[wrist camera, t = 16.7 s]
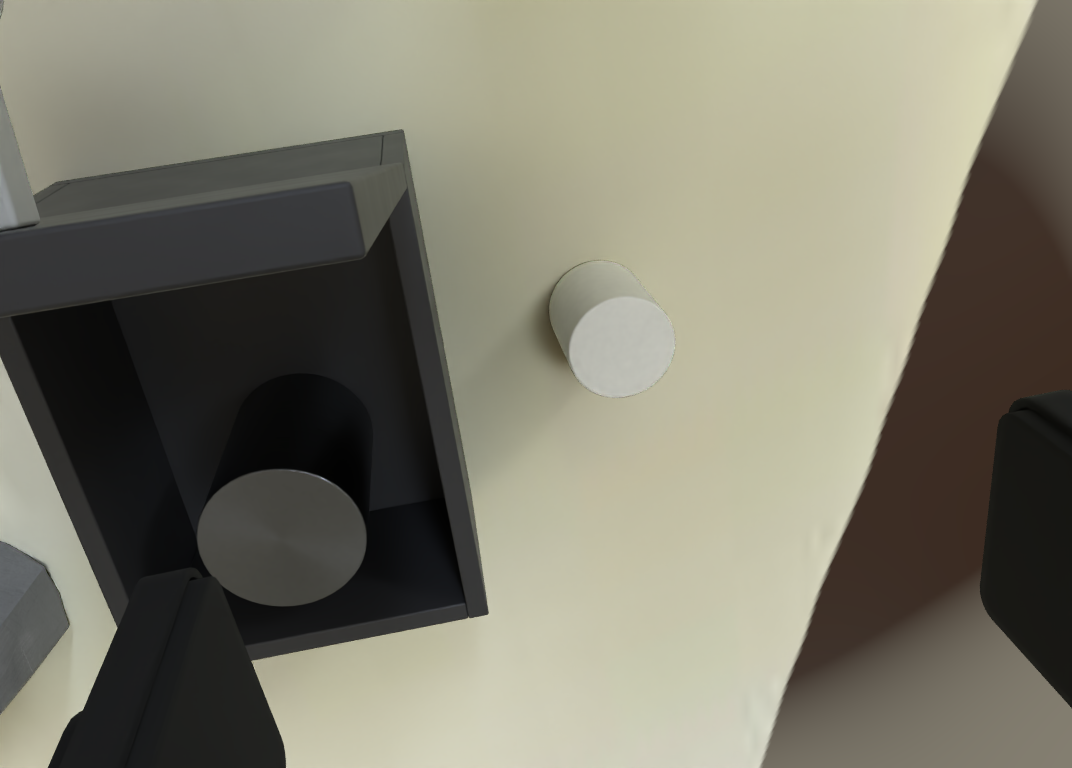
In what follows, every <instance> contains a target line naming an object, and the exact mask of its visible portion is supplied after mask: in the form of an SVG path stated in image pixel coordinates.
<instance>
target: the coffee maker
mask: <svg viewBox="0 0 1072 768" xmlns="http://www.w3.org/2000/svg"><path fill="white" fill-rule="evenodd" d="M399 162H401V163H403V167H404V172H405V178H406V183H407V189H406V190H405V192H404V193H403V195H402V197H401V198H400V200H399V202H398V203H397V205H396V207H395V208H394V210H393V212H392V213H391V215H390V217H389V218H388V220H387V221H386V223H385V225H384V226H383V228H382V230H381V231H380V233H379V235H378V236H377V238H376V240H375V241H374V243H373V245H372V246H371V248H370V249H369V251H368V253H367V254H366V256H365V257H364V258H362V259H360V260H354V261H348V262H342V263H336V264H330V265H323V266H317V267H311V268H305V269H299V270H293V271H287V272H280V273H274V274H268V275H262V276H256V277H250V278H243V279H237V280H231V281H225V282H219V283H213V284H207V285H200V286H194V287H188V288H182V289H176V290H170V291H164V292H157V293H151V294H145V295H139V296H133V297H127V298H121V299H114V300H108V301H102V302H96V303H90V304H84V305H78V306H71V307H65V308H59V309H53V310H47V311H41V312H35V313H28V314H22V315H16V316H10V317H4V318H0V357H1V359H2V361H3V364H4V366H5V368H6V371H7V373H8V375H9V377H10V380H11V382H12V384H13V387H14V389H15V391H16V394H17V396H18V398H19V401H20V403H21V405H22V408H23V410H24V412H25V415H26V417H27V419H28V422H29V424H30V426H31V428H32V431H33V433H34V435H35V438H36V440H37V442H38V445H39V447H40V449H41V452H42V454H43V456H44V459H45V461H46V463H47V466H48V468H49V470H50V472H51V475H52V477H53V479H54V482H55V484H56V486H57V489H58V491H59V493H60V496H61V498H62V500H63V503H64V505H65V507H66V510H67V512H68V514H69V516H70V519H71V521H72V523H73V526H74V528H75V530H76V533H77V535H78V537H79V540H80V542H81V544H82V547H83V549H84V551H85V554H86V556H87V558H88V560H89V563H90V565H91V567H92V570H93V572H94V574H95V577H96V579H97V581H98V584H99V586H100V588H101V591H102V593H103V595H104V598H105V600H106V602H107V604H108V607H109V609H110V611H111V614H112V616H113V618H114V621H115V623H116V625H117V628H118V626H119V624H120V622H121V619H122V617H123V614H124V612H125V610H126V607H127V605H128V603H129V600H130V598H131V596H132V593H133V591H134V588H135V586H136V584H137V583H138V581H139V580H140V579H141V578H143V577H147V576H151V575H156V574H161V573H166V572H171V571H176V570H181V569H186V568H191V567H192V568H196V569H197V570H198V571H199V572H200V573H201V575H202V577H203V578H206V577H211V576H212V575H211V574H210V573H209V571H208V570H207V568H206V567H205V565H204V563H203V561H202V559H201V557H200V554H199V550H198V547H197V539H196V534H197V525H198V520H199V517H200V514H201V512H202V509H203V506H204V503H205V501H206V498H207V495H208V493H209V490H210V487H211V485H212V482H213V479H214V476H215V474H216V471H217V468H218V466H219V463H220V460H221V458H222V455H223V452H224V449H225V447H226V444H227V441H228V439H229V436H230V433H231V430H232V428H233V425H234V422H235V420H236V417H237V414H238V412H239V409H240V407H241V406H242V404H243V402H244V401H245V399H246V398H247V397H248V396H249V394H251V393H252V392H253V391H254V390H255V389H256V388H257V387H259V386H260V385H262V384H263V383H265V382H267V381H269V380H271V379H274V378H277V377H279V376H284V375H288V374H296V373H307V374H316V375H320V376H324V377H327V378H330V379H333V380H335V381H337V382H339V383H341V384H342V385H344V386H345V387H347V388H348V389H350V390H351V391H352V392H353V393H354V394H355V395H356V396H357V397H358V398H359V399H360V400H361V401H362V403H363V404H364V406H365V407H366V409H367V411H368V414H369V416H370V419H371V422H372V428H373V447H372V466H371V484H370V503H369V521H368V540H367V548H366V553H365V556H364V559H363V561H362V563H361V565H360V567H359V569H358V570H357V572H356V573H355V575H354V576H353V577H352V578H351V579H350V580H349V581H348V582H347V583H346V584H345V585H344V586H343V587H341V588H340V589H339V590H337V591H336V592H334V593H333V594H331V595H329V596H327V597H325V598H323V599H320V600H318V601H315V602H312V603H308V604H303V605H297V606H269V605H264V604H259V603H255V602H252V601H249V600H246V599H244V598H241V597H239V596H237V595H235V594H234V593H232V592H230V591H229V590H227V589H226V588H224V587H223V586H222V585H221V584H220V585H221V587H222V589H223V592H224V594H225V597H226V599H227V602H228V604H229V607H230V609H231V612H232V615H233V617H234V620H235V622H236V625H237V627H238V630H239V632H240V635H241V637H242V640H243V642H244V645H245V647H246V650H247V652H248V655H249V657H250V660H251V661H252V660H258V659H263V658H268V657H273V656H278V655H283V654H288V653H293V652H298V651H303V650H309V649H314V648H319V647H324V646H329V645H334V644H339V643H344V642H349V641H354V640H360V639H365V638H370V637H375V636H380V635H385V634H390V633H395V632H400V631H405V630H411V629H416V628H421V627H426V626H431V625H436V624H441V623H446V622H451V621H456V620H462V619H467V618H468V616H469V618H473V617H479V616H484V615H488V613H489V612H488V605H487V599H486V592H485V585H484V578H483V571H482V564H481V557H480V550H479V543H478V536H477V529H476V522H475V515H474V508H473V501H472V495H471V490H470V484H469V479H468V473H467V468H466V463H465V457H464V452H463V447H462V441H461V436H460V431H459V425H458V420H457V414H456V409H455V404H454V398H453V393H452V388H451V382H450V377H449V371H448V366H447V361H446V355H445V350H444V345H443V339H442V334H441V329H440V323H439V318H438V312H437V307H436V302H435V296H434V291H433V286H432V280H431V275H430V270H429V264H428V259H427V253H426V248H425V243H424V237H423V232H422V227H421V221H420V216H419V210H418V205H417V200H416V194H415V189H414V184H413V178H412V173H411V168H410V162H409V157H408V151H407V146H406V141H405V135H404V131H403V130H395V131H388V132H382V133H375V134H369V135H362V136H355V137H349V138H342V139H336V140H329V141H323V142H316V143H309V144H303V145H296V146H290V147H283V148H276V149H270V150H263V151H257V152H250V153H244V154H237V155H230V156H224V157H217V158H211V159H204V160H197V161H191V162H184V163H178V164H171V165H164V166H158V167H151V168H145V169H138V170H132V171H125V172H118V173H112V174H105V175H99V176H92V177H85V178H79V179H72V180H66V181H59V182H55V183H54V184H52V185H50V186H49V187H47V188H45V189H44V190H42V191H40V192H39V193H37V194H35V195H34V196H33V197H34V200H35V203H36V207H37V210H38V213H39V217H40V218H43V217H50V216H56V215H63V214H69V213H76V212H82V211H89V210H95V209H102V208H108V207H115V206H121V205H128V204H134V203H140V202H147V201H153V200H160V199H166V198H173V197H179V196H186V195H192V194H199V193H205V192H212V191H218V190H225V189H231V188H237V187H244V186H250V185H257V184H263V183H270V182H276V181H283V180H289V179H296V178H302V177H309V176H315V175H321V174H328V173H334V172H341V171H347V170H354V169H360V168H367V167H373V166H380V165H386V164H393V163H399Z"/></svg>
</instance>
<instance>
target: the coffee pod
mask: <svg viewBox="0 0 1072 768" xmlns="http://www.w3.org/2000/svg"><path fill="white" fill-rule="evenodd" d="M549 317H550V322H551V325H552V328H553V330H554V332H555V334H556V337H557V339H558V341H559V343H560V345H561V348H562V350H563V352H564V354H565V357H566V359H567V361H568V363H569V366H570V368H571V370H572V372H573V374H574V376H575V377H576V379H577V380H578V381H579V382H580V383H581V384H582V385H583V386H584V387H585V388H586V389H588V390H590V391H591V392H593V393H595V394H598V395H601V396H605V397H611V398H623V397H629V396H633V395H636V394H639V393H641V392H643V391H645V390H647V389H648V388H650V387H651V386H653V385H654V384H655V383H656V382H657V381H658V380H659V379H660V378H661V377H662V376H663V375H664V373H665V372H666V371H667V369H668V367H669V366H670V363H671V361H672V358H673V355H674V351H675V332H674V329H673V326H672V323H671V321H670V319H669V318H668V316H667V315H666V313H665V312H664V311H663V310H662V308H661V307H660V306H659V305H658V303H657V302H656V301H655V300H654V298H653V297H652V296H651V295H650V293H649V292H648V291H647V290H646V289H645V287H644V286H643V285H642V284H641V282H640V281H639V280H638V279H637V277H636V276H635V275H634V274H633V273H632V272H631V271H630V270H629V269H627V268H626V267H624V266H622V265H620V264H618V263H615V262H612V261H605V260H597V261H590V262H586V263H583V264H581V265H579V266H577V267H575V268H573V269H572V270H570V271H569V272H568V273H566V274H565V275H564V276H563V277H562V278H561V279H560V281H559V282H558V284H557V285H556V287H555V289H554V290H553V293H552V295H551V299H550V303H549Z"/></svg>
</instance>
